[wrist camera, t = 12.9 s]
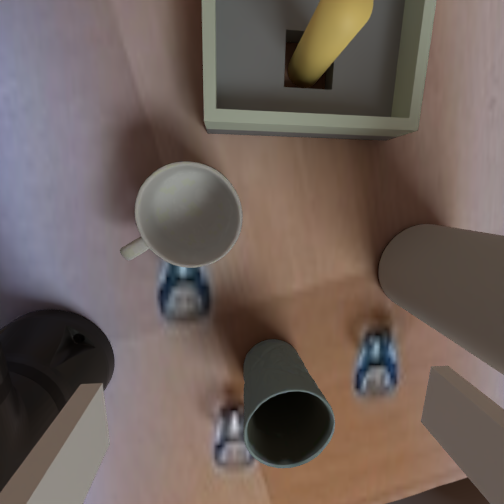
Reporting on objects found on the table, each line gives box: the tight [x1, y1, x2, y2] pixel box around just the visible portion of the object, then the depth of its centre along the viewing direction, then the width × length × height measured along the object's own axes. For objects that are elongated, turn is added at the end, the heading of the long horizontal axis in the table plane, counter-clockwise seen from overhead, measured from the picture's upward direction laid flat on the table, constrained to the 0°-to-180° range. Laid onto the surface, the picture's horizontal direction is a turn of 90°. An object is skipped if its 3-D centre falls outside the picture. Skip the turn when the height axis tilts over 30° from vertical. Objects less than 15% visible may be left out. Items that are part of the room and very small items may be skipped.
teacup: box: [120, 161, 242, 268], centre depth 31 cm, size 14×11×8 cm
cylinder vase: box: [379, 224, 504, 375], centre depth 28 cm, size 12×12×25 cm
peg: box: [288, 0, 373, 88], centre depth 27 cm, size 4×4×12 cm
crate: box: [202, 0, 436, 140], centre depth 29 cm, size 23×18×6 cm
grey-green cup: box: [244, 339, 335, 468], centre depth 35 cm, size 10×10×12 cm
